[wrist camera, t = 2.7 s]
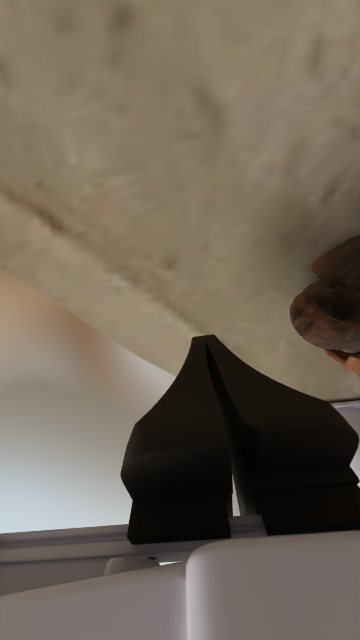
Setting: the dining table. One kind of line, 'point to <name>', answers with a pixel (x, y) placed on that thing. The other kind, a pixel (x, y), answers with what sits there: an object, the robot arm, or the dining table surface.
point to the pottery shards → (333, 305)
